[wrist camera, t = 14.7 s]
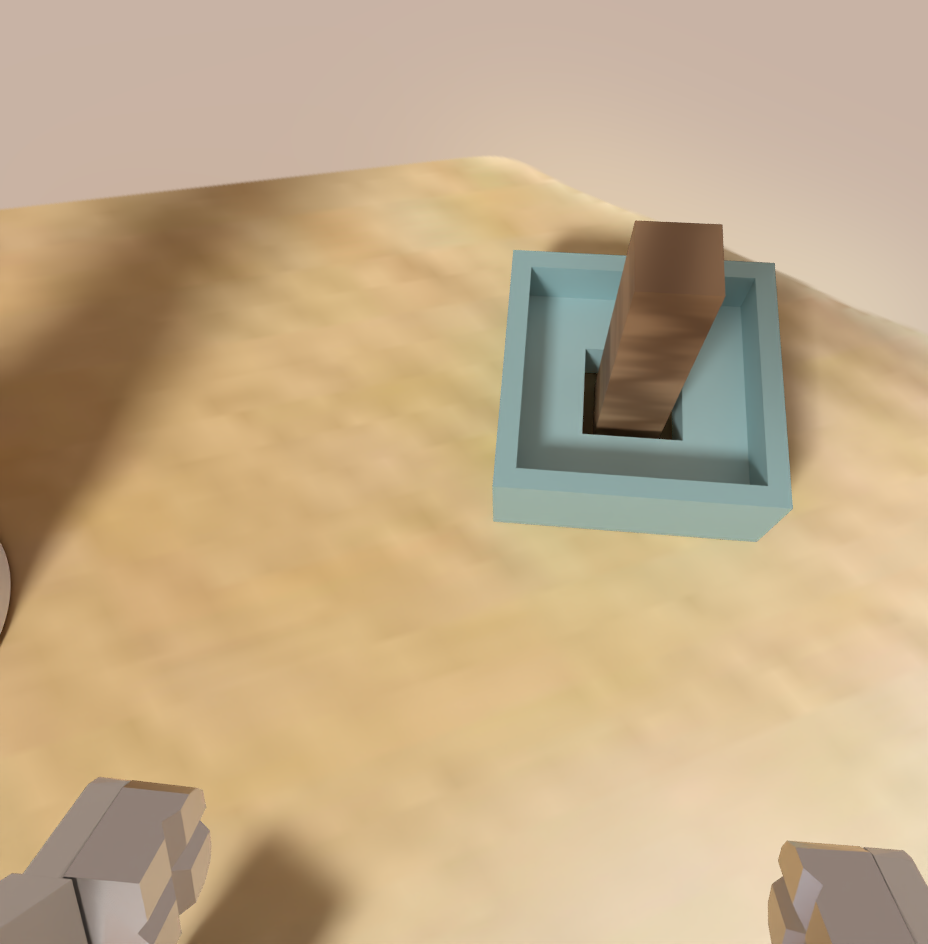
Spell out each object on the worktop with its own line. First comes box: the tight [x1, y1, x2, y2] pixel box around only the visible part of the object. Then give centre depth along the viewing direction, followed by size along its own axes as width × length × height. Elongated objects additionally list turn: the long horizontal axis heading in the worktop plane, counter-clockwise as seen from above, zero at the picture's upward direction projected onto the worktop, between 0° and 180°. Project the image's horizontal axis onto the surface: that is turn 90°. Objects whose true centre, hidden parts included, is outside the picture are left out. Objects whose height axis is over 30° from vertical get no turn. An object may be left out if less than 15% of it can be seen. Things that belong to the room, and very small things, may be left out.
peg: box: [593, 221, 725, 439], centre depth 41 cm, size 4×4×16 cm
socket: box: [493, 250, 793, 542], centre depth 46 cm, size 16×16×6 cm
